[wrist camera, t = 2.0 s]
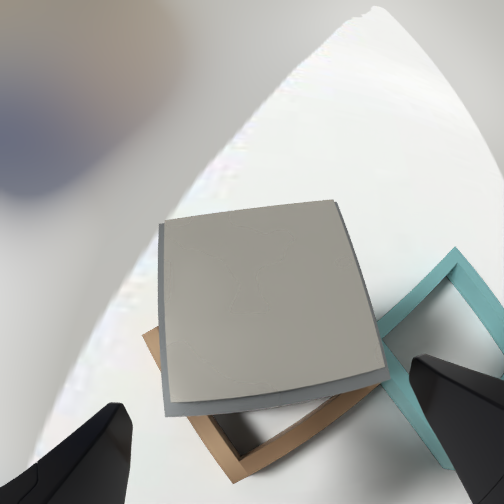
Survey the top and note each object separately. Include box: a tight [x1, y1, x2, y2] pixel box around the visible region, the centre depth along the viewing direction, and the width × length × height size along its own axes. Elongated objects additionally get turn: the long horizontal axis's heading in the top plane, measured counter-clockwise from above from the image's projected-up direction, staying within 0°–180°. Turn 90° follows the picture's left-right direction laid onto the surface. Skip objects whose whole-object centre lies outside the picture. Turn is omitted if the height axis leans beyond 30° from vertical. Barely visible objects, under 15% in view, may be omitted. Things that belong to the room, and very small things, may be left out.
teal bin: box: [377, 247, 504, 470], centre depth 16 cm, size 12×11×2 cm
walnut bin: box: [142, 326, 380, 484], centre depth 16 cm, size 10×10×2 cm
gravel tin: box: [158, 200, 391, 417], centre depth 12 cm, size 5×5×12 cm
